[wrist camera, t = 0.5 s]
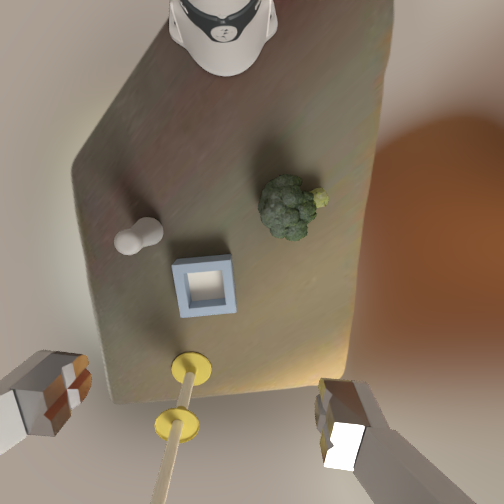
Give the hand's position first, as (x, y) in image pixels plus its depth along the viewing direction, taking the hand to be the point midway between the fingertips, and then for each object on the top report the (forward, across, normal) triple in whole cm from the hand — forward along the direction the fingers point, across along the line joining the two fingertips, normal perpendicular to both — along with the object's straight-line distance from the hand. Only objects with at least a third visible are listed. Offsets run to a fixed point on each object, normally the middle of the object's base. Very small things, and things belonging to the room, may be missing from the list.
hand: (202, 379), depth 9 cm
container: (+44, +10, +18) cm, 48 cm away
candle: (+42, +13, +42) cm, 61 cm away
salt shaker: (+44, +22, +7) cm, 49 cm away
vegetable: (+47, -7, 0) cm, 47 cm away
